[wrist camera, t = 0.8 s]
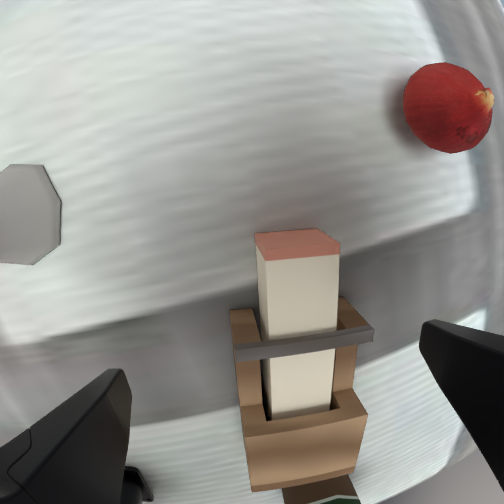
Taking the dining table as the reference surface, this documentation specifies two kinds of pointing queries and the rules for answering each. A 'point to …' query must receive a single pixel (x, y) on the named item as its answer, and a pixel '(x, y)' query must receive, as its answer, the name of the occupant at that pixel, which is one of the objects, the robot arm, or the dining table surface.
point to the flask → (27, 215)
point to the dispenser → (303, 427)
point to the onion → (447, 107)
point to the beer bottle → (322, 492)
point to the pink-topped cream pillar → (297, 317)
